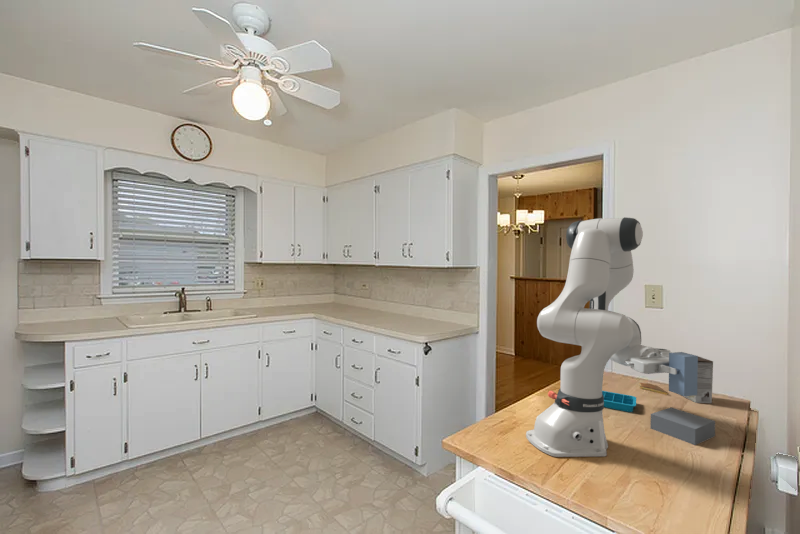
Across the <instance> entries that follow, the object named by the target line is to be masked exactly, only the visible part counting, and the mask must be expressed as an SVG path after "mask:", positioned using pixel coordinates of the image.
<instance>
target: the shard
mask: <svg viewBox="0 0 800 534" xmlns="http://www.w3.org/2000/svg"><path fill="white" fill-rule="evenodd" d="M637 385H639V386H640V387H639V388H640V389H641V390H645V391H649V392H653V393H657V394H661V395H665V396H668V395H669V394H670V392H668V391H666V390H664V389H663V388H661V387H660V385H659V386H658V385H657V384H653V383H648V382H647V383H646V382H638V384H637Z"/></svg>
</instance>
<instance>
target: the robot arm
mask: <svg viewBox="0 0 800 534" xmlns="http://www.w3.org/2000/svg"><path fill="white" fill-rule="evenodd" d="M565 235H566V236H565V241H566V243H567V246H568V247H569V249H571V252H570V255H569V261H568V263H569V264H568V270H567V276H566V279H565V284H564V287H563V289H562V290H561V293H560V294H559V296H558V297H556V299H555V300H554V301H552V302H551V304H549V305H547V306H546V307H544V308H543V309H542V310H540V312H539V314H538V316H537V317H536V327H537V330H538V331H539V334H540V335H541V336H542V337H543V338H544V339H545V338H546V339H548V340H550V341H554V342H557V343H563V344H570V345H575V346H581V352H580V354H578V355H574V356H571V357H568V358H566V359H565V360H564V361H563V362H562V363H561V366H560V388H559V389H558V392H555V391H553V390H549V391H548V392H547V397H549V398H550V399H552V400H554V402H553V403H552V404H551V405H550V406H549V407H548V408H546V409H545V410H544V411H542V412H541V413H540V414H538V415H537V416H536V418H535V422H534V425H533V426H534V428H533V429H530V430H526V433H525V437H526V439H527V441H528V442H529V443H530V444H531V445H532V446H533V447H535V448H537V449H538V450H540V452H543V453H544V454H546V455H549V456H551V457H557V458H560V457H562V458H565V457H568V458H569V457H570V458H572V457H573V458H575V457H578V458H579V457H581V458H582V457H606V456H607V454H608V453H607V449H608V448H609V444H608V439H607V437H606V433H605V431H606V430H605V426H604V418H603V410H604V409H605V407H604V396H603V395H602V391H603V384H604V383H603V382H604V372H605V368H606V366H607V364H608V362H609V360H611V361H613V362H614V363H616V364H619V365H622V366H625V367H630V368H631V369H632V370H634V371H636V372H639V373H641V374H644V375H645V374H646V375H651V374H653V375H654V374H663V373H664V374H665V373H666V374H669V373H671V374H674V375H675V374H679V369H678V368H675V367H669V353H673V352H671V350H670V349H665V348H656V347H652V346H647V345H643V344H642V332H641V327H640V325H639V323H638V322H637V321H635V320H634V319H633V318H631V317H629V316H626V314H622V313H620V312H615V311H611V310H609V306H610V303H611V301H612V300H613V299H614V298H615V297H616V295H618V294H619V293H620V292H621V291H623V290H624V289H625V288H626V287H628V286H629V285H630V283H632V280H633V279H634V278H633V277H634V272H635V271H634V261H633V254H632V251H633V250H636V249H637V248H638V247H639V246H640V245H641V244H642V239H643V235H644V231H643V228H642V224H641V223H640V221H639V220H637V218H634V217H622V218H619V217H618V218H617V217H609V218H608V217H606V218H603V217H600V218H594V219H593V218H592V219H586V220H577V221H574V222H572V223H571V224H570V225H569V226H568V227H567V228H566V234H565ZM588 302H589V307H588V308H586V307H585V306H586V304H587V303H588Z"/></svg>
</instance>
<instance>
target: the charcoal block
mask: <svg viewBox="0 0 800 534" xmlns="http://www.w3.org/2000/svg"><path fill="white" fill-rule="evenodd" d="M650 429H651V430H654V431H656V432H659V433H661V434H664V435H666V436H669V437H673V438H675V439H677V440H680V441H682V442H685V443H688V444H691V445H694V446H697V445H699V444H701V443H703V442H706V441H707V440H710V439H712V438H714V436H715V437H716V421H715V420H713V419H709V418H708V417H703V416H700V415H697V414H694V413H691V412H688V411H684V410H682V409H678V408H675V407H673V406H672V407H671V406H670V407H668V408H665V409H662V410H659V411H658V410H657V411H655V412H652V413H650Z"/></svg>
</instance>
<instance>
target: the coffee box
mask: <svg viewBox="0 0 800 534" xmlns="http://www.w3.org/2000/svg"><path fill="white" fill-rule="evenodd" d="M697 356H698V355H697ZM713 369H714V361H713V360H710V359H707V358H704V357H702V356H698V373H697V395H693V396H682V395H680V396H681V397H683V398H685V399H688V400H689V401H692V402H693V403H697V404H712V403H713V382H714V381H713V379H714V377H713V373H714V370H713Z"/></svg>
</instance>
